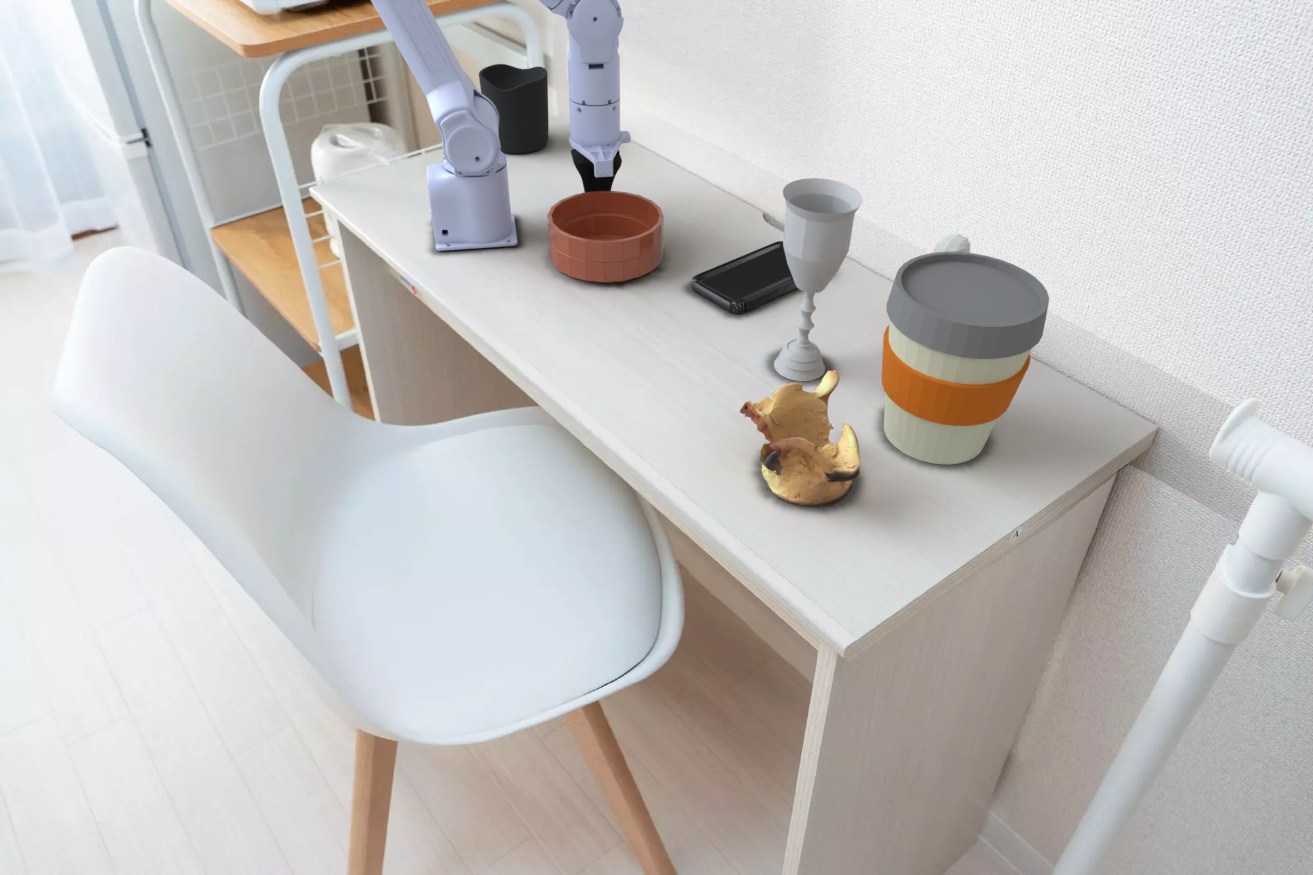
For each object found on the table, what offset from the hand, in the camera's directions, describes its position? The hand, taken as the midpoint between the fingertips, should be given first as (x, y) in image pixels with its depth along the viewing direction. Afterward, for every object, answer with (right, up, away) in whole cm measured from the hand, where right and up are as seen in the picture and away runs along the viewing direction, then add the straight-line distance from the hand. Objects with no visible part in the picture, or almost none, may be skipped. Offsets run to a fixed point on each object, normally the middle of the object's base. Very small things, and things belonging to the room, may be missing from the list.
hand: (597, 209), depth 114 cm
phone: (+19, -10, -8) cm, 23 cm away
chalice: (+21, -21, -21) cm, 36 cm away
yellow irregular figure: (+20, -31, -34) cm, 50 cm away
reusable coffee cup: (+32, -27, -29) cm, 51 cm away
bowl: (+1, -7, -5) cm, 8 cm away
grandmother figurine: (+35, -19, -18) cm, 44 cm away
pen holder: (-13, +15, +22) cm, 30 cm away
